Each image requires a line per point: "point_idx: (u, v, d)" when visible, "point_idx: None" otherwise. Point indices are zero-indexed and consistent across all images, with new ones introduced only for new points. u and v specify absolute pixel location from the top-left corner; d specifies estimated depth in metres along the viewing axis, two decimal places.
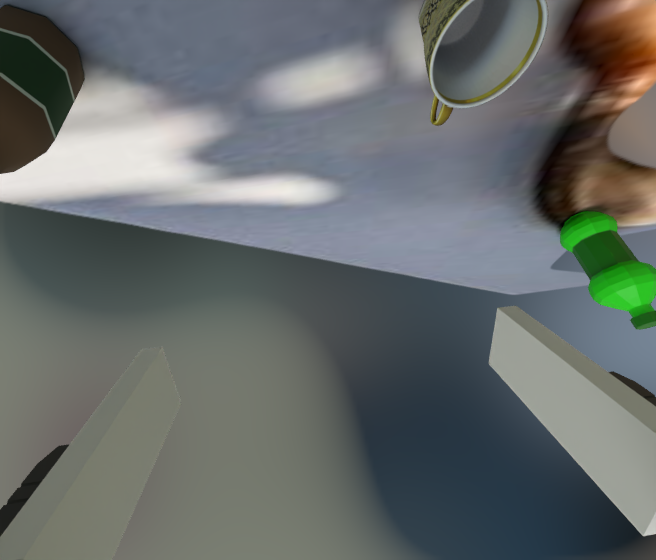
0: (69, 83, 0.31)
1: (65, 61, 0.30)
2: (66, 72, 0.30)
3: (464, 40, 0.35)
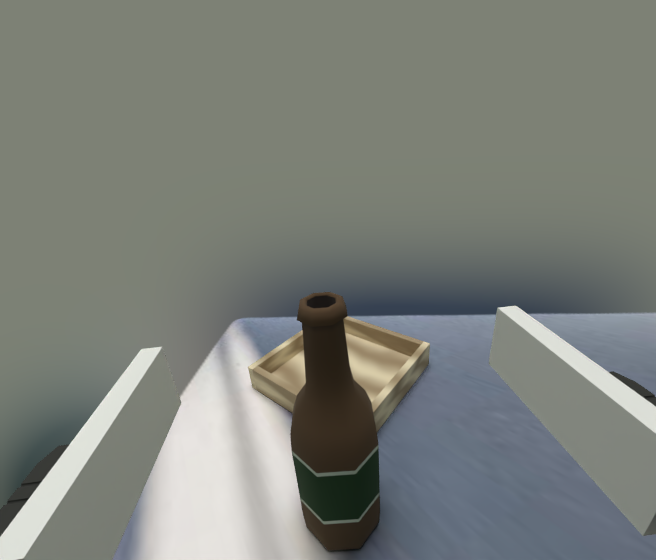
0: (345, 520, 0.27)
1: (361, 525, 0.27)
2: (357, 520, 0.27)
3: None
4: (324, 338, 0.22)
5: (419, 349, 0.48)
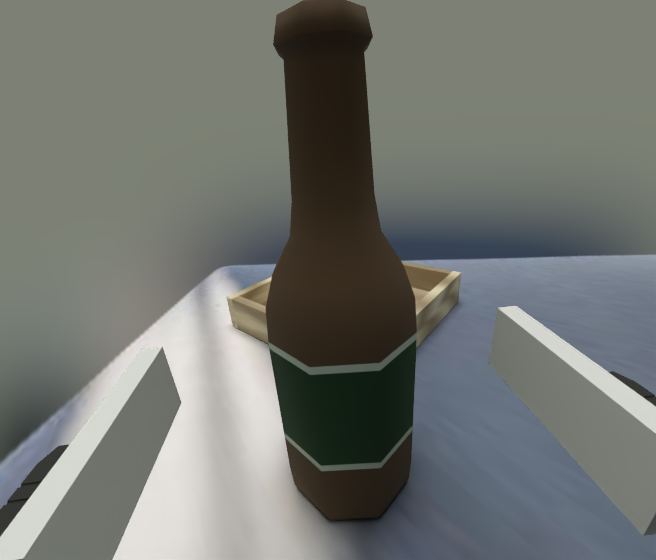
0: (358, 465, 0.16)
1: (384, 475, 0.16)
2: (378, 464, 0.16)
3: None
4: (326, 75, 0.11)
5: (448, 277, 0.37)
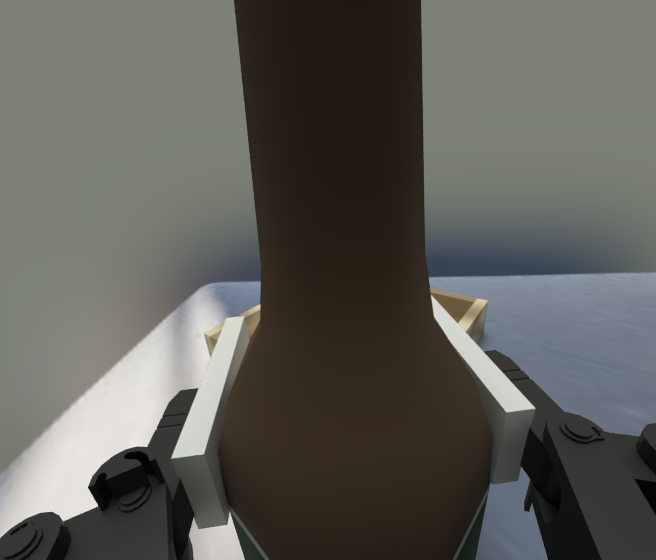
0: None
1: None
2: None
3: None
4: None
5: (473, 308, 0.31)
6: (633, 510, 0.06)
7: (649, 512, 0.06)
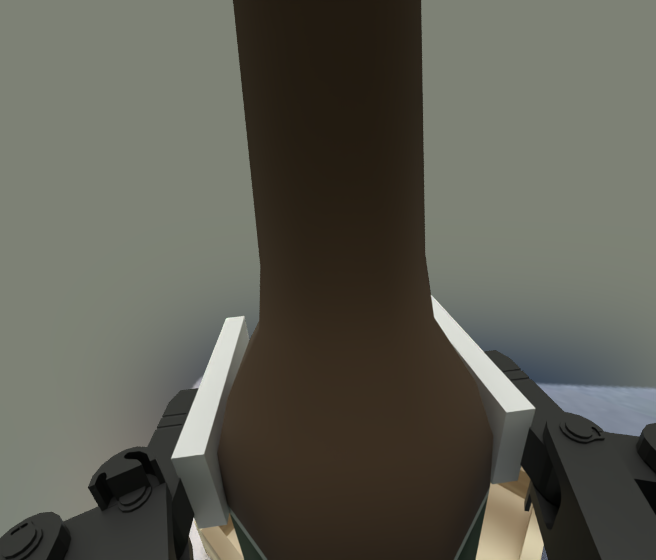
0: None
1: None
2: None
3: None
4: None
5: None
6: (633, 510, 0.06)
7: (649, 512, 0.06)
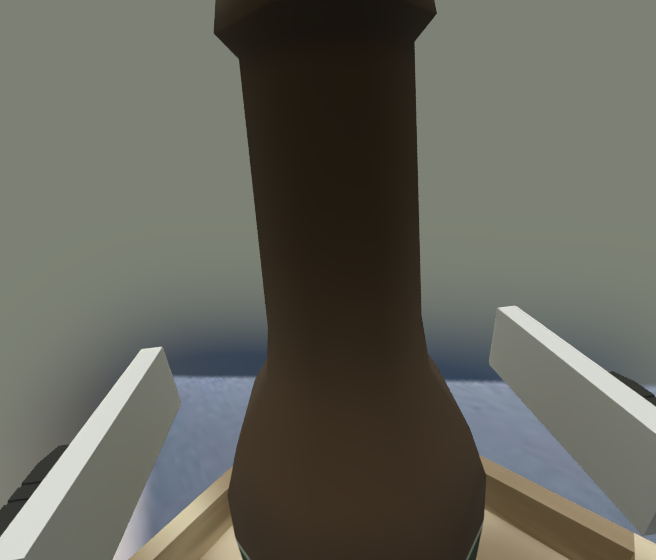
0: None
1: None
2: None
3: None
4: (334, 103, 0.05)
5: None
6: None
7: None
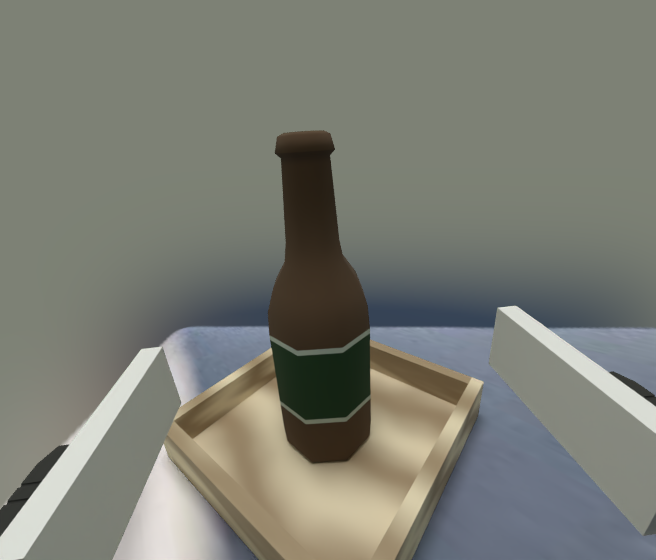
0: (331, 419, 0.23)
1: (349, 427, 0.24)
2: (344, 418, 0.23)
3: None
4: (306, 173, 0.18)
5: (467, 393, 0.27)
6: None
7: None
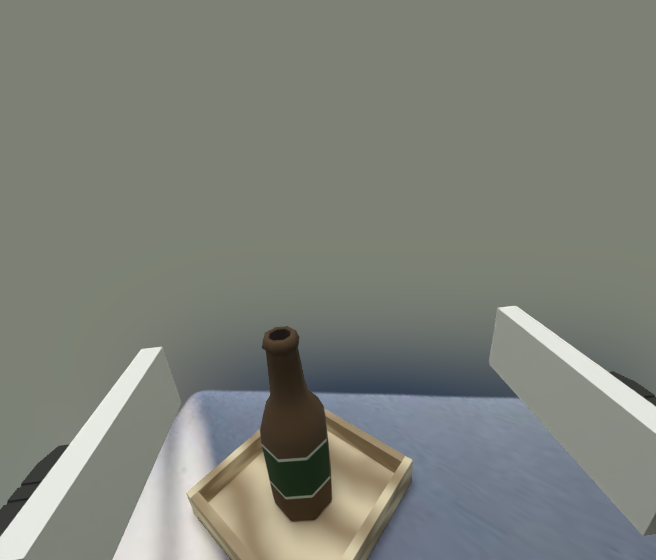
0: (302, 496, 0.35)
1: (314, 500, 0.36)
2: (311, 495, 0.35)
3: None
4: (281, 361, 0.30)
5: (399, 470, 0.39)
6: None
7: None
